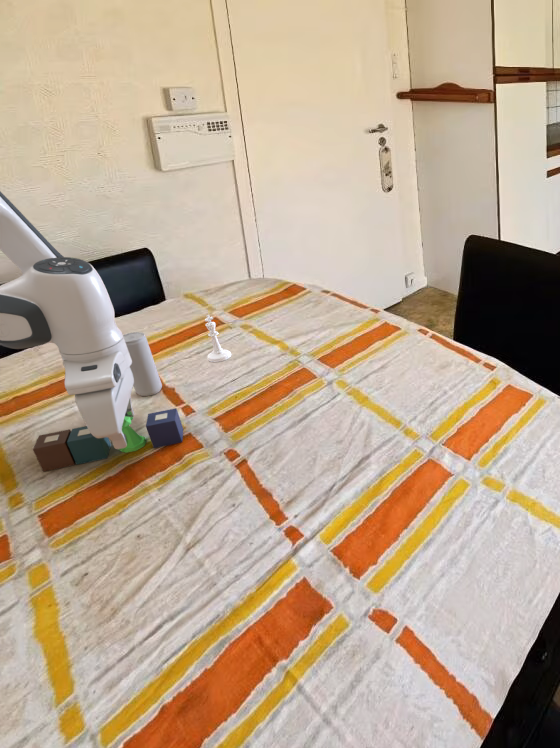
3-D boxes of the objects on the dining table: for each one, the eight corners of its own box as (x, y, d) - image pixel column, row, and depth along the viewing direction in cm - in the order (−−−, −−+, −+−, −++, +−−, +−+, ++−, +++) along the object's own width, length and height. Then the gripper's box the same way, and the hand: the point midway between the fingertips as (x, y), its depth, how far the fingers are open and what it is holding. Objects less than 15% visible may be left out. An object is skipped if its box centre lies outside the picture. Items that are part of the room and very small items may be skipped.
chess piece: (236, 355, 139) (225, 313, 134) (217, 363, 135) (205, 321, 130) (222, 350, 141) (210, 309, 136) (202, 359, 137) (190, 317, 133)
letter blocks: (43, 472, 102) (32, 448, 99) (49, 457, 105) (38, 434, 103) (182, 442, 108) (174, 419, 106) (183, 429, 112) (176, 407, 110)
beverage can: (159, 383, 128) (141, 329, 122) (166, 391, 125) (147, 337, 119) (134, 390, 125) (114, 336, 120) (139, 399, 122) (119, 344, 116)
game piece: (152, 439, 109) (141, 409, 107) (136, 453, 106) (125, 423, 103) (129, 438, 110) (117, 409, 107) (113, 452, 106) (101, 422, 103)
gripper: (86, 338, 107) (113, 407, 113) (61, 391, 90) (94, 468, 97) (128, 332, 109) (151, 400, 116) (111, 382, 92) (139, 459, 99)
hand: (125, 432), depth 106 cm, fingers open, 8 cm apart
